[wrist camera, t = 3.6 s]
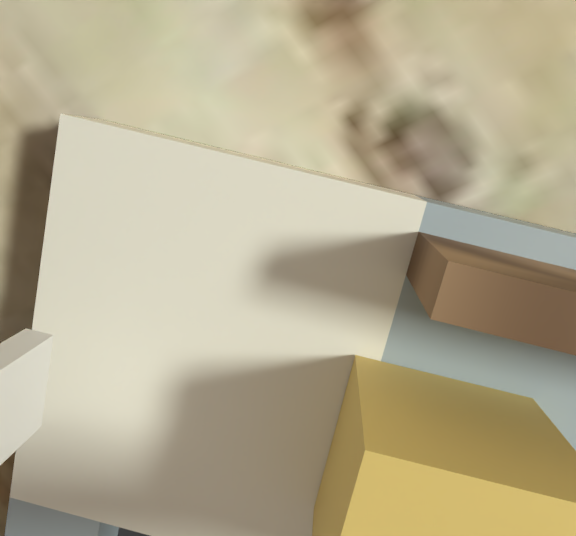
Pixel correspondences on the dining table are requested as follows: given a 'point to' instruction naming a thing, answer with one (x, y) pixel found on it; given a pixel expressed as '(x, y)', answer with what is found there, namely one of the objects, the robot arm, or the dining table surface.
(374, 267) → the board
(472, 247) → the cubby
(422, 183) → the dining table surface
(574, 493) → the block
